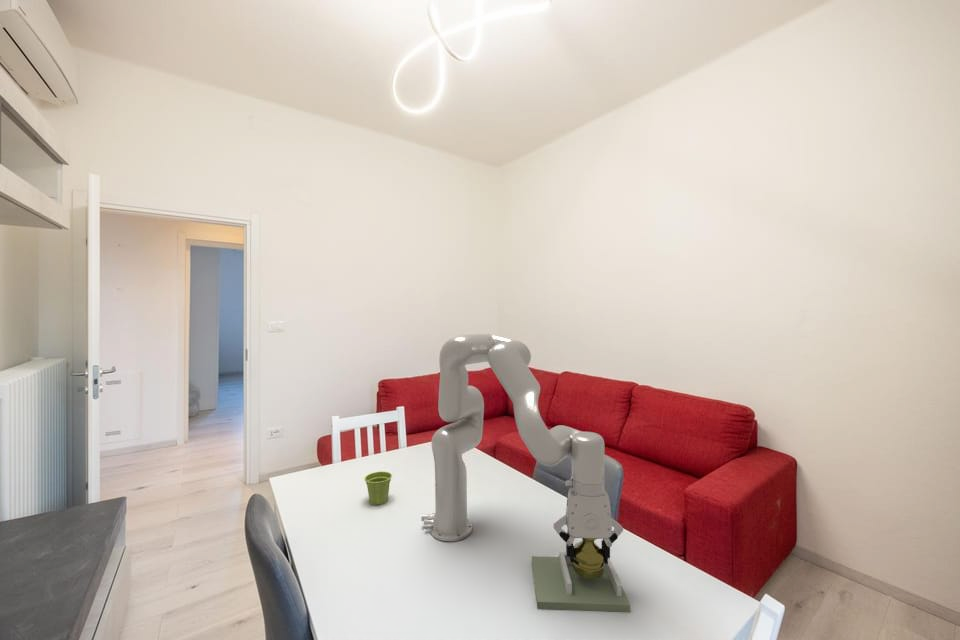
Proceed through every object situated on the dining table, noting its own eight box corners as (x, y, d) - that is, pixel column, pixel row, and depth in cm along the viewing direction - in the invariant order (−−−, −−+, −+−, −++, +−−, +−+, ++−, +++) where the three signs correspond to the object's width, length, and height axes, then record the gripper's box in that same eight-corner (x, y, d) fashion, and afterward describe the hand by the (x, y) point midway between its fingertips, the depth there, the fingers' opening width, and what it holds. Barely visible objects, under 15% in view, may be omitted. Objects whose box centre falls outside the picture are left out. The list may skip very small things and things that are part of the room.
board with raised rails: (537, 608, 84) (537, 590, 84) (531, 562, 100) (531, 546, 100) (630, 611, 83) (629, 593, 83) (609, 564, 99) (609, 548, 99)
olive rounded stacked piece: (599, 584, 86) (600, 540, 86) (567, 572, 90) (568, 530, 90) (607, 566, 92) (608, 525, 92) (577, 555, 96) (577, 516, 96)
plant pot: (358, 505, 131) (358, 479, 131) (376, 493, 140) (375, 469, 140) (381, 510, 128) (381, 484, 127) (397, 497, 136) (397, 473, 136)
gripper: (553, 492, 88) (553, 568, 88) (630, 494, 87) (630, 571, 87) (549, 478, 95) (549, 548, 95) (620, 479, 94) (620, 551, 94)
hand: (587, 559), depth 91 cm, fingers closed on olive rounded stacked piece, 7 cm apart
